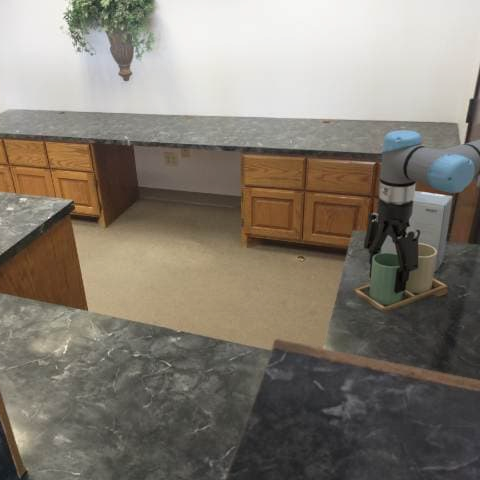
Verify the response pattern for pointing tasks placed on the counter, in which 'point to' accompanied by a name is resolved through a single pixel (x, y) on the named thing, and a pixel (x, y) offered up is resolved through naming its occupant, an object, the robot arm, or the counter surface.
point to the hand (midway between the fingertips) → (386, 283)
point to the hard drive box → (428, 223)
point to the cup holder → (437, 290)
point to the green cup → (384, 278)
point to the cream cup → (422, 270)
